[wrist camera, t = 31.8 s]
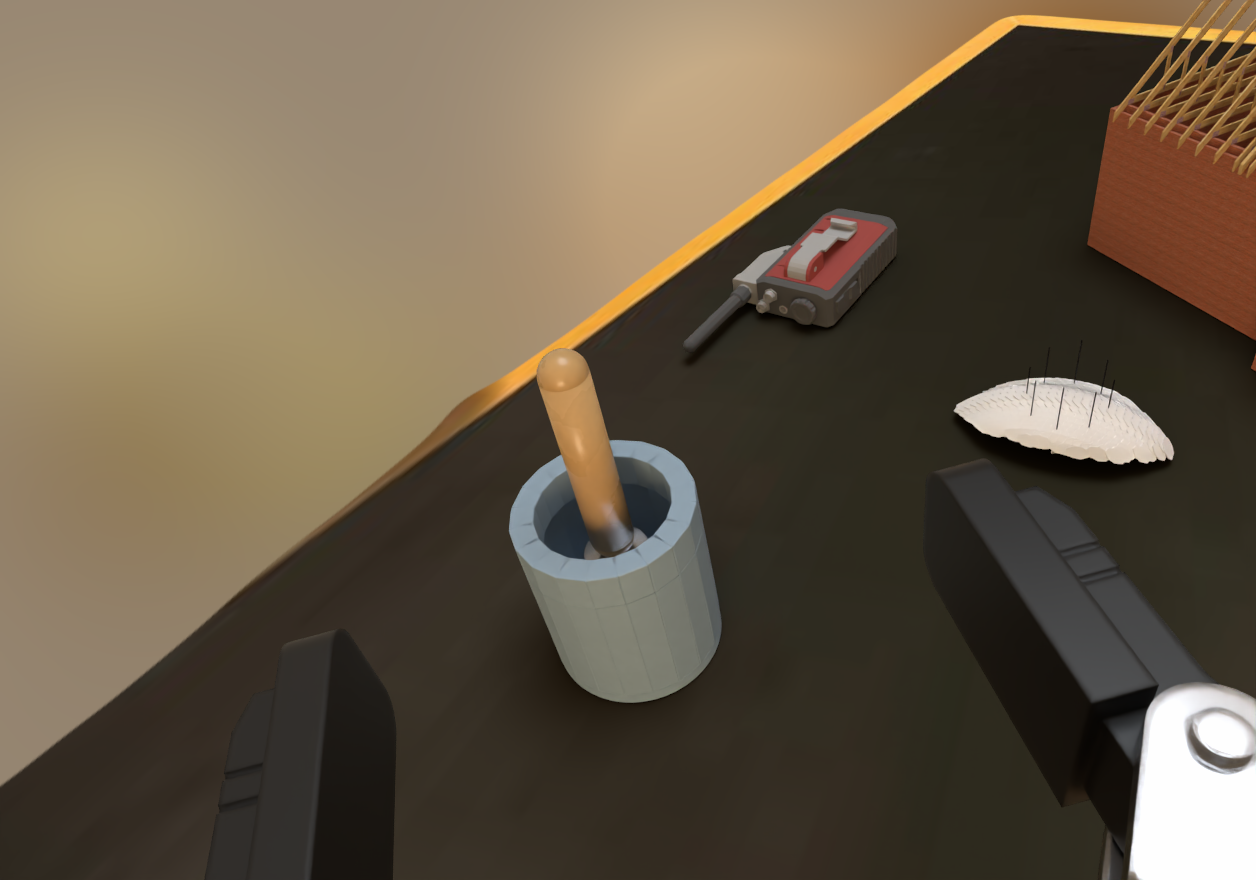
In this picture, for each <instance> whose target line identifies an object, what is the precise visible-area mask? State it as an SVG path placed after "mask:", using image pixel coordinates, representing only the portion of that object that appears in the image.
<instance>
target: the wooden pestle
mask: <svg viewBox="0 0 1256 880" xmlns="http://www.w3.org/2000/svg"><path fill="white" fill-rule="evenodd" d="M537 381H538V385H539V388H540V391H541V394H542V397H543V400H544V403H545V406H546V409H547V412H548V415H549V418H550V421H551V424H552V427H553V430H554V433H555V436H556V439H557V442H558V445H559V448H560V451H561V455H562V458H563V461H564V464H565V467H566V470H567V473H568V476H569V479H570V482H571V485H572V488H573V491H574V494H575V497H576V500H577V503H578V506H579V509H580V512H581V515H582V518H583V521H584V524H585V527H586V530H587V533H588V536H589V541H588V542H587V544H586V546H585V548H584V552H583V560H597V559H603V558H610V557H615V556H617V555H620V554H623V553H625V552H628V551H630V550H633V549H635V548H636V547H638V546H639V545H641V544H642V543H643V542H645V541H646V540H648V537H647V535H646V534H645V533H644V532H643V531H642V530H640V529H639V528H636V527H634V526H633V525H632V522H631V518H630V514H629V511H628V507H627V504H626V500H625V496H624V493H623V489H622V485H621V482H620V478H619V475H618V471H617V467H616V464H615V460H614V457H613V453H612V449H611V446H610V442H609V439H608V435H607V431H606V428H605V424H604V421H603V417H602V413H601V410H600V406H599V403H598V399H597V395H596V392H595V388H594V384H593V381H592V377H591V374H590V370H589V367H588V365H587V362H586V361H585V359H584V358H583V357H582V356H581V355H580V354H579V353H577V352H576V351H573V350H571V349H565V348H560V349H555V350H553V351H551V352H549V353H548V354H546V355H545V356H544V357H543V358H542V360H541V361H540V363H539V365H538V369H537Z"/></svg>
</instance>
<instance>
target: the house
mask: <svg viewBox="0 0 1256 880" xmlns="http://www.w3.org/2000/svg"><path fill="white" fill-rule="evenodd" d="M1210 1H1211V0H1203V1H1202V2H1201V4H1200V5H1199V6H1198V8H1197V9H1196V10H1195V11H1194V12H1193V14H1192V15H1191V16H1190V18H1189V19H1188V20H1187V21H1186V23H1185V24H1184V25H1183V26H1182V28H1181V29H1180V30H1179V31H1178V33H1177V34H1176V35H1175V36H1174V38H1173V39H1172V40H1171V42H1170V43H1169V44H1168V45H1167V47H1166V48H1165V49H1164V50H1163V52H1162V53H1161V54H1160V55H1159V57H1158V58H1157V59H1156V60H1155V62H1154V63H1153V64H1152V66H1151V67H1150V68H1149V69H1148V71H1147V72H1146V73H1145V74H1144V76H1143V77H1142V78H1141V79H1140V81H1139V82H1138V83H1137V85H1136V86H1135V87H1134V88H1133V90H1132V91H1131V92H1130V93H1129V95H1128V96H1127V97H1126V98H1125V100H1124V101H1123V102H1122V103H1121V105H1118V106H1116V107H1113V108H1111V110H1110V115H1109V121H1108V127H1107V133H1106V139H1105V145H1104V150H1103V156H1102V162H1101V168H1100V174H1099V180H1098V185H1097V191H1096V197H1095V203H1094V209H1093V215H1092V220H1091V226H1090V232H1089V238H1088V244H1087V245H1089V246H1091V247H1092V248H1094V249H1096V250H1098V251H1099V252H1101V253H1103V254H1105V255H1106V256H1108V257H1110V258H1112V259H1113V260H1115V261H1117V262H1119V263H1120V264H1122V265H1124V266H1126V267H1127V268H1129V269H1131V270H1133V271H1134V272H1136V273H1138V274H1140V275H1141V276H1143V277H1145V278H1147V279H1149V280H1150V281H1152V282H1154V283H1156V284H1157V285H1159V286H1161V287H1163V288H1164V289H1166V290H1168V291H1170V292H1171V293H1173V294H1175V295H1177V296H1178V297H1180V298H1182V299H1184V300H1185V301H1187V302H1189V303H1191V304H1192V305H1194V306H1196V307H1198V308H1199V309H1201V310H1203V311H1205V312H1206V313H1208V314H1210V315H1212V316H1213V317H1215V318H1217V319H1219V320H1221V321H1222V322H1224V323H1226V324H1228V325H1229V326H1231V327H1233V328H1235V329H1236V330H1238V331H1240V332H1242V333H1243V334H1245V335H1247V336H1249V337H1250V338H1252V339H1254V340H1256V47H1255V48H1254V49H1253V51H1252V52H1251V53H1250V54H1247V55H1245V56H1242V57H1239V58H1236V59H1234V60H1231V61H1228V60H1229V59H1230V58H1231V57H1232V56H1233V54H1234V53H1235V52H1236V51H1237V50H1238V48H1239V47H1240V46H1241V45H1242V43H1243V42H1244V41H1245V40H1246V39H1247V37H1248V36H1249V35H1250V34H1251V33H1252V31H1253V30H1254V29H1255V27H1256V18H1255V19H1254V21H1253V22H1252V23H1251V24H1250V25H1249V27H1248V28H1247V29H1246V30H1245V32H1244V33H1243V34H1242V35H1241V36H1240V38H1239V39H1238V40H1237V41H1236V42H1235V44H1234V45H1233V46H1232V47H1231V49H1230V50H1229V51H1228V52H1227V53H1226V55H1225V56H1224V57H1223V58H1222V60H1221V61H1220V62H1219V63H1218V64H1217V66H1214V67H1212V68H1209V69H1206V65H1207V61H1208V57H1209V56H1210V55H1211V53H1212V52H1213V51H1214V50H1215V48H1216V47H1217V46H1218V45H1219V44H1220V42H1221V41H1222V40H1223V39H1224V37H1225V36H1226V35H1227V34H1228V32H1229V31H1230V30H1231V29H1232V28H1233V26H1234V25H1235V24H1236V23H1237V21H1238V20H1239V19H1240V18H1241V16H1242V15H1243V14H1244V13H1245V12H1246V10H1247V9H1248V8H1249V7H1250V5H1251V4H1252V3H1253V2H1254V0H1247V1H1246V2H1245V3H1244V5H1243V6H1242V7H1241V8H1240V9H1239V11H1238V12H1237V13H1236V14H1235V16H1234V17H1233V18H1232V19H1231V21H1230V22H1229V23H1228V24H1227V26H1226V27H1225V28H1224V29H1223V30H1222V32H1221V33H1220V34H1219V35H1218V37H1217V38H1216V39H1215V40H1214V41H1213V43H1212V44H1211V45H1210V46H1209V48H1208V49H1207V50H1206V51H1205V53H1204V54H1203V55H1202V56H1201V58H1200V59H1199V60H1198V61H1197V62H1196V64H1195V65H1194V66H1193V67H1192V69H1191V70H1190V71H1189V72H1188V74H1187V75H1186V71H1187V66H1188V62H1189V57H1190V53H1191V51H1192V50H1193V48H1194V47H1195V46H1196V45H1197V43H1198V42H1199V41H1200V40H1201V39H1202V37H1203V36H1204V35H1205V34H1206V32H1207V31H1208V30H1209V29H1210V27H1211V26H1212V25H1213V24H1214V22H1215V21H1216V19H1218V17H1219V16H1220V15H1221V13H1222V12H1223V11H1224V10H1225V9H1226V7H1227V6H1228V5H1229V4H1230V2H1231V1H1232V0H1225V1H1224V2H1223V3H1222V4H1221V5H1220V7H1219V8H1218V9H1217V10H1216V12H1215V13H1214V14H1213V15H1212V17H1211V18H1210V19H1209V20H1208V22H1207V23H1206V24H1205V25H1204V27H1203V28H1202V29H1201V30H1200V32H1199V33H1198V34H1197V35H1196V37H1195V38H1194V39H1193V40H1192V42H1191V43H1190V44H1189V45H1188V47H1187V48H1186V49H1185V50H1184V52H1183V53H1182V54H1181V55H1180V57H1179V58H1178V59H1177V60H1176V62H1175V63H1174V64H1173V65H1172V67H1171V68H1170V69H1169V67H1170V62H1171V58H1172V53H1173V48H1174V46H1175V45H1176V43H1177V42H1178V41H1179V40H1180V38H1181V37H1182V36H1183V34H1184V33H1185V32H1186V31H1187V29H1188V28H1189V27H1190V26H1191V24H1192V23H1193V22H1194V21H1195V19H1196V18H1197V17H1198V16H1199V14H1200V13H1201V12H1202V11H1203V9H1204V8H1205V7H1206V5H1207V4H1208V3H1209V2H1210ZM1167 55H1168V58H1167V63H1166V68H1165V72H1164V77H1163V78H1162V79H1161V80H1160V82H1159V83H1158V84H1157V85H1156V87H1155V88H1154V89H1151V90H1149V91H1146V92H1143V93H1140V94H1138V95H1136V94H1137V92H1138V91H1139V90H1140V89H1141V87H1142V86H1143V85H1144V84H1145V82H1146V81H1147V80H1148V79H1149V77H1150V76H1151V75H1152V74H1153V72H1154V71H1155V70H1156V68H1157V67H1158V66H1159V65H1160V63H1161V62H1162V61H1163V60H1164V58H1165V57H1166V56H1167ZM1184 60H1185V62H1184V66H1183V71H1182V75H1181V79H1179V80H1176V81H1173V82H1170V83H1168V84H1166V82H1167V81H1168V80H1169V78H1170V77H1171V76H1172V75H1173V73H1174V72H1175V71H1176V70H1177V68H1178V67H1179V66H1180V65H1181V63H1182V62H1183V61H1184ZM1201 66H1202V69H1201V72H1198V73H1196V72H1197V71H1198V69H1199V68H1200V67H1201ZM1205 69H1206V70H1205ZM1185 75H1186V76H1185ZM1251 369H1253V370H1255V371H1256V355H1255V358H1254V361H1253V364H1252V367H1251Z"/></svg>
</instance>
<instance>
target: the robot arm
mask: <svg viewBox="0 0 1256 880" xmlns="http://www.w3.org/2000/svg"><path fill="white" fill-rule="evenodd" d="M923 550H924V557H925V562H926V566H927V569H928V572H929V575H930V578H931V580H932V582H933V585H934V587H935V589H936V591H937V592H938V594H939V596H940V598H941V599H942V601H943V603H944V605H945V606H946V608H947V610H948V611H949V613H950V615H951V617H952V618H953V620H954V622H955V624H956V625H957V627H958V629H959V630H960V632H961V634H962V636H963V637H964V639H965V641H966V643H967V644H968V646H969V648H970V650H971V651H972V653H973V655H974V656H975V658H976V660H977V662H978V663H979V665H980V667H981V669H982V670H983V672H984V674H985V675H986V677H987V679H988V681H989V682H990V684H991V686H992V688H993V689H994V691H995V693H996V694H997V696H998V698H999V700H1000V701H1001V703H1002V705H1003V707H1004V708H1005V710H1006V712H1007V713H1008V715H1009V717H1010V719H1011V720H1012V722H1013V724H1014V726H1015V727H1016V729H1017V731H1018V732H1019V734H1020V736H1021V738H1022V739H1023V741H1024V743H1025V745H1026V746H1027V748H1028V750H1029V751H1030V753H1031V755H1032V757H1033V758H1034V760H1035V762H1036V764H1037V765H1038V767H1039V769H1040V770H1041V772H1042V774H1043V776H1044V777H1045V779H1046V781H1047V783H1048V784H1049V786H1050V788H1051V790H1052V791H1053V793H1054V795H1055V796H1056V798H1057V800H1058V802H1059V803H1060V805H1061V807H1065V806H1069V805H1073V804H1076V803H1080V802H1084V801H1087V800H1091V801H1092V803H1093V805H1094V806H1095V808H1096V810H1097V811H1098V813H1099V815H1100V816H1101V818H1102V820H1103V821H1104V823H1105V824H1106V825H1105V829H1104V833H1103V840H1102V848H1101V856H1100V864H1099V872H1098V879H1097V880H1256V699H1254V698H1252V697H1251V696H1249V695H1247V694H1244V693H1242V692H1240V691H1238V690H1235V689H1232V688H1229V687H1226V686H1222V685H1220V684H1218V683H1217V682H1216V681H1215V680H1214V679H1213V678H1211V677H1210V676H1209V675H1208V674H1207V673H1206V672H1205V671H1204V670H1203V668H1202V667H1201V666H1200V665H1199V664H1198V663H1197V661H1196V660H1195V659H1194V658H1193V656H1192V655H1191V654H1190V653H1189V651H1188V650H1187V649H1186V648H1185V647H1184V645H1183V644H1182V643H1181V642H1180V640H1179V639H1178V638H1177V637H1176V635H1175V634H1174V633H1173V632H1172V630H1171V629H1170V628H1169V627H1168V625H1167V624H1166V623H1165V622H1164V621H1163V619H1162V618H1161V617H1160V616H1159V614H1158V613H1157V612H1156V611H1155V609H1154V608H1153V607H1152V606H1151V604H1150V603H1149V602H1148V601H1147V599H1146V598H1145V597H1144V596H1143V594H1142V593H1141V592H1140V591H1139V590H1138V588H1137V587H1136V586H1135V585H1134V583H1133V582H1132V581H1131V580H1130V578H1129V577H1128V576H1127V575H1126V573H1125V572H1124V573H1122V572H1121V571H1120V568H1119V565H1118V563H1117V562H1116V561H1115V560H1114V559H1113V557H1112V556H1111V555H1110V554H1109V552H1108V551H1107V550H1106V549H1105V547H1104V546H1103V547H1101V546H1100V544H1099V540H1098V539H1097V537H1096V536H1095V535H1094V534H1093V532H1092V531H1091V530H1090V529H1089V528H1088V526H1087V525H1086V524H1085V523H1084V521H1083V520H1082V519H1081V518H1080V516H1079V515H1078V514H1077V513H1076V511H1075V510H1074V509H1073V508H1071V507H1069V506H1068V505H1066V504H1065V503H1063V502H1061V501H1060V500H1058V499H1057V498H1055V497H1053V496H1052V495H1050V494H1049V493H1047V492H1045V491H1044V490H1042V489H1041V488H1039V487H1037V486H1034V487H1031V488H1027V489H1023V490H1019V491H1016V492H1014V490H1013V489H1012V488H1011V486H1010V485H1009V484H1008V482H1007V481H1006V480H1005V478H1004V477H1003V476H1002V474H1001V473H1000V472H999V470H998V469H997V468H996V466H995V465H994V464H993V463H992V462H991V461H989V460H987V459H979V460H975V461H972V462H968V463H964V464H960V465H957V466H953V467H949V468H945V469H942V470H938V471H934V472H931V473H929V474H928V476H927V479H926V493H925V515H924V537H923ZM395 764H396V723H395V716H394V711H393V707H392V703H391V700H390V697H389V695H388V692H387V690H386V688H385V687H384V685H383V684H382V682H381V681H380V679H379V678H378V676H377V675H376V673H375V672H374V670H373V669H372V667H371V666H370V664H369V663H368V661H367V660H366V658H365V657H364V655H363V654H362V652H361V651H360V649H359V648H358V646H357V645H356V643H355V642H354V641H353V639H352V638H351V636H350V635H349V633H348V632H347V631H346V630H344V629H337V630H333V631H329V632H326V633H322V634H318V635H315V636H311V637H307V638H303V639H300V640H296V641H292V642H289V643H286V644H285V645H284V646H283V648H282V649H281V652H280V656H279V661H278V668H277V674H276V681H275V688H274V689H270V690H266V691H263V692H259V693H255V694H253V696H252V697H251V699H250V701H249V703H248V705H247V706H246V708H245V710H244V712H243V714H242V715H241V717H240V719H239V721H238V722H237V724H236V726H235V728H234V730H233V731H232V733H231V739H230V744H229V750H228V755H227V760H226V766H225V771H224V774H225V777H226V779H225V781H223V782H222V787H221V793H220V798H219V804H218V807H219V810H220V812H219V814H217V815H216V820H215V825H214V831H213V836H212V842H211V847H210V853H209V858H208V863H207V869H206V874H205V880H393V845H394V804H395Z"/></svg>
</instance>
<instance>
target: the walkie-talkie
mask: <svg viewBox="0 0 1256 880" xmlns="http://www.w3.org/2000/svg"><path fill="white" fill-rule="evenodd" d="M896 255H897V227H896V225H895V223H894V221H893V220H892V219H890V218H889V217H885V216H880V215H874V214H868V213H862V212H856V211H851V210H845V209H836V210H833V211H831V212H829V213H827V214H824V215H822V217H821V218H819V220H818V221H816V223H815V224H813V225H812V227H810V228H809V230H807V231H806V233H805V234H803V235H802V236H801V237H800V238H799V239H798V240H797V241H796V242H795V243H794V244H793V245H792V246H788V245H787V246H784V247H781V248H778V249H775V250H771V251H768V252H765V253H763V254H761V255H760V256H759V257H758V258H757V259H756V260H755V261H754V262H753V263H752V264H751V265H750V266H748V267H747V268H746V269H745V270H744V271H743V272H742V273H740V274H738V275H737V276H736V277H735V278H734V279H733V288H734V292H732V293H731V294H730V298H729V299H728V300H727V301H726V302H725V303H724V304H723V305H722V306H721V307H719V308H718V309H717V310H716V311H715V312H714V313H713V314H712V315H711V316H710V317H709V318H708V319H707V320H706V321H705V322H704V323H703V324H702V325H701V326H700V327H699V328H698V329H697V330H696V331H695V332H694V333H693V334H692V335H691V336H689V337H688V338H687V339H686V340H685V341H684V343H683V348H684V350H685V351H687V352H689V353H691V352H694V351H695V350H696V349H697V348H698V347H699V346H700V345H701V344H702V343H703V342H704V341H705V340H706V339H707V338H708V337H709V336H710V335H711V334H712V333H713V332H714V331H715V330H716V329H717V328H718V327H719V326H720V325H721V324H723V323H724V322H725V321H726V320H727V319H728V318H729V317H730V316H731V315H732V314H733V313H734V312H735V311H736V310H737V309H738V308H739V307H742V306H744V305H745V304H746V303H747V302H748V303H752V304H756V309H757V311H758V312H760V313H764V312H768V313H772V314H776V315H780V316H784V317H788V318H791V319H795V320H796V321H797V322H798V323H800V324H803V325H804V324H805V325H809V324H815V325H819V326H823V327H829V326H832V325H834V324H835V323H836V322H837V321H838V320H839V319H840V318H841V316H842V315H843V314H844V313H845V312H846V311H847V310H848V309H849V308H850V306H851V305H852V304H853V303H854V302H855V301H856V300H857V299H858V298H859V296H860V295H861V294H862V292H864V291H865V289H866V288H868V286H869V285H870V284H871V283H872V281H874V280H875V278H876V277H877V276H878V274H880V273H881V271H882V270H884V269H885V267H886V266H887V265H888V263H890V262H891V260H892V259H894V257H895V256H896Z"/></svg>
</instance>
